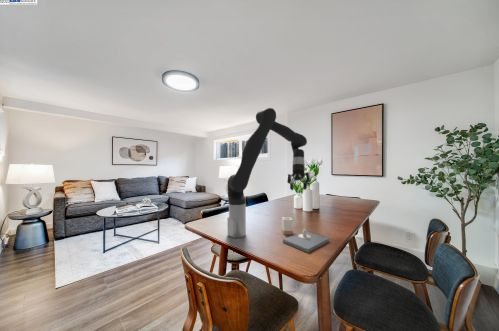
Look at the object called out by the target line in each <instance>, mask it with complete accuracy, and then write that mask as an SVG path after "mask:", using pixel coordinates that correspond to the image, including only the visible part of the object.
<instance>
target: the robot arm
mask: <svg viewBox="0 0 499 331" xmlns="http://www.w3.org/2000/svg"><path fill="white" fill-rule="evenodd" d="M276 119H277V112H276V110H275V109H274V108H272V107H268V108H267V107H266V108H263V109H261V110H259V111H258V112H257V113H256V115H255V120H256V122H257V123H258V126H257V128H256V130H255V131H254V132H253V133H252V134H251V135H250V137H249V138H248V139H247V142H246V143H245V146H244V148H243V151H242V154H241V155H242V156H241V159H240V160H241V162H240V165H239V167H238V169H237V171H236V173H234V174H231V175H230V176H229V177H228V180H227V199H228V217H227V236H229V237H231V238H233V239H237V238H238V239H239V238H243V237H245V236H246V235H247V234H246V233H247V226H246V224H247V223H246V222H247V220H246V218H247V217H246V216H247V215H246V214H247V213H246V210H247V208H246V207H247V206H246V202H247V201H246V200H247V199H246V196H245V195H244V194H245V193H244V191H245V189H247V186H248V183H249V181H250V177H251V174H252V171H253V169H254V166H255V165H256V163H257V160H258V158H259V155H260V153H261V152H262V148H263V146H264V144H265V142H266V139H267V137H268V134H269V133H270V131H272V132H275V133H276V135H277V134H278V135H279V136H280V137H282V138H283V139H284V140H286V141H288V142H290V145H291V146H290V147H291V150H292V154H293V155H292V174H290V173H288V174H287V184H289V186H290V187H289V189H290V190H291V191H293V190H294V184H295V182H296V181H302V182H303V190H307V188H308V184H309V183H311V175H310V172H308V171H306V172H305V170H306V169H305V151H304V150H303V149H302V147H305V146H306V145H307V144H308V141H307V138H306V136H305V135H303V134H301V133H299V132H296V131H294V130H293V129H291V128H290V127H288V126H286V125H285V124H282V123H279V122H277V121H276ZM305 177H306V179H305Z"/></svg>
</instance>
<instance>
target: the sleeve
mask: <svg viewBox="0 0 499 331" xmlns="http://www.w3.org/2000/svg"><path fill="white" fill-rule="evenodd" d="M293 222H294V220H293V218H292V217H290V216H287V217H285V216H283V217H282V216H281V231H282V235H294V229H293V228H294V227H293V226H294V225H293V224H294V223H293Z"/></svg>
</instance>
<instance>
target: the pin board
mask: <svg viewBox="0 0 499 331" xmlns="http://www.w3.org/2000/svg"><path fill="white" fill-rule="evenodd" d="M329 242H330V239H329V238H328V237H324V236H322V235H318V234H315V233H312V232H309V231H308V230H307V229H306V228H303V229H302V231H301V232H298V233H295V234H292V235H291V236H288V237H285V238H282V243H283V244H286V245H288V246H290V247H293V248H295V249H297V250H301V251H303V252H306V253H310V252H312V251H314V250H316V249H318V248H319V247H321V246H323V245H326V244H327V243H329Z"/></svg>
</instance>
